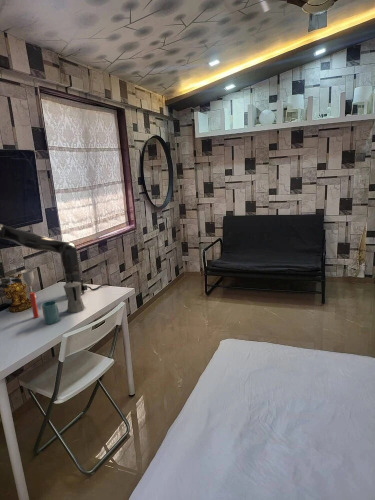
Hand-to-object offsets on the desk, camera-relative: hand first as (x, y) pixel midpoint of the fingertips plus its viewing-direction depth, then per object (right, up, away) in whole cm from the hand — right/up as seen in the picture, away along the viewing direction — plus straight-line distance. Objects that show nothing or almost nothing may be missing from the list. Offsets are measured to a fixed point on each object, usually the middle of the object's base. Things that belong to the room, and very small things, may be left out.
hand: (14, 283), depth 179 cm
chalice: (-4, -12, +30) cm, 33 cm away
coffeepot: (+32, -16, +6) cm, 36 cm away
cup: (+23, -19, -6) cm, 31 cm away
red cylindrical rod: (+12, -18, +1) cm, 22 cm away
